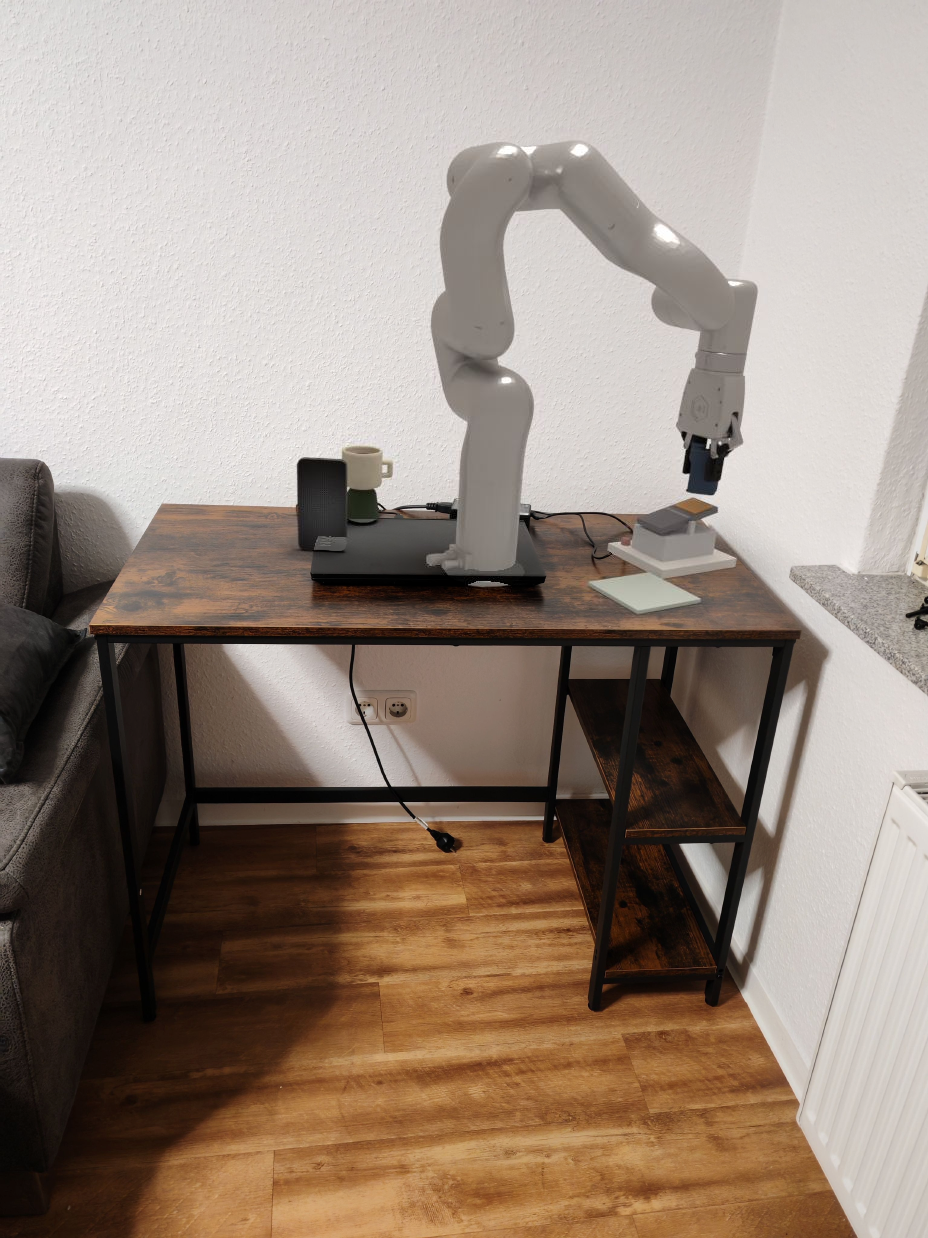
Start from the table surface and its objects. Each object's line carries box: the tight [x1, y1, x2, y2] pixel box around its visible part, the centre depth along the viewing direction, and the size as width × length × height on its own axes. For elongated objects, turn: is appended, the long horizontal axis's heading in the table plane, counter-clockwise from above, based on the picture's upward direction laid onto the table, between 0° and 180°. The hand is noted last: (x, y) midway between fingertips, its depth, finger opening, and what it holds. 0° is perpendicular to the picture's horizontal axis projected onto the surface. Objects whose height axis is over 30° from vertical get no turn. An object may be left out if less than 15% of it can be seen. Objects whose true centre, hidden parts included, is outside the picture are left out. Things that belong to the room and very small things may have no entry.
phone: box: [296, 456, 348, 551], centre depth 143 cm, size 8×1×15 cm, turn 92°
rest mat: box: [587, 572, 702, 615], centre depth 136 cm, size 12×12×1 cm
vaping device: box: [685, 435, 721, 496], centre depth 147 cm, size 3×5×12 cm, turn 75°
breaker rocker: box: [636, 497, 719, 534], centre depth 149 cm, size 12×6×1 cm, turn 119°
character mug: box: [341, 444, 394, 520], centre depth 159 cm, size 11×7×13 cm, turn 105°
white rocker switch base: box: [607, 521, 738, 580], centre depth 151 cm, size 16×14×8 cm
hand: (701, 475), depth 148 cm, fingers closed on vaping device, 4 cm apart
